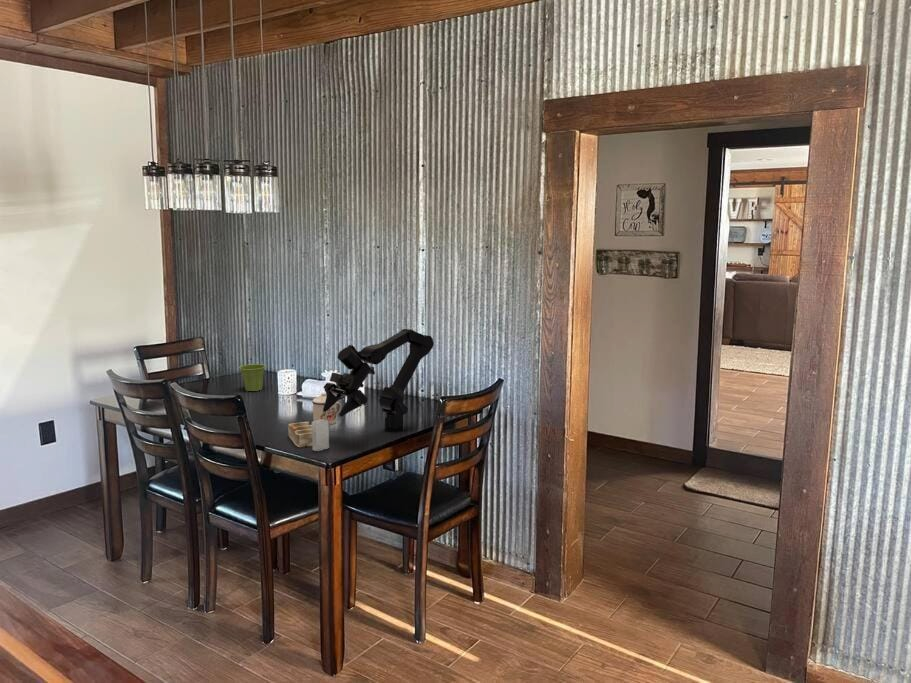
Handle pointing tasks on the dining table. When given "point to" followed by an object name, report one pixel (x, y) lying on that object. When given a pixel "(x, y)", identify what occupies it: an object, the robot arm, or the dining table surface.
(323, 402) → the teacup with lid
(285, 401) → the dining table surface
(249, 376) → the plant pot
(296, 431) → the birch rack
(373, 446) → the dining table surface
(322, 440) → the aluminium panel
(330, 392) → the robot arm
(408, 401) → the dining table surface
